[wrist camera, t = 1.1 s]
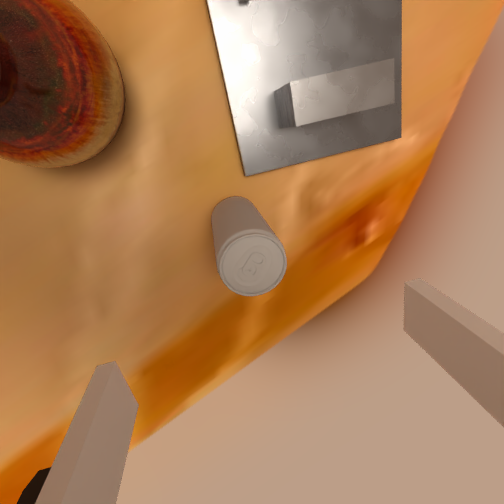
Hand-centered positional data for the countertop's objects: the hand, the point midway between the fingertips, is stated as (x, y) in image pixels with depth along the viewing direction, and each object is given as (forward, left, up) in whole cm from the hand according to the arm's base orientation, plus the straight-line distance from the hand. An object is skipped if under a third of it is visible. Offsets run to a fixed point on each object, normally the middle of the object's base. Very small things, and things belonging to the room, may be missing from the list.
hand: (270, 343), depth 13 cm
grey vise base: (-15, +10, -19) cm, 26 cm away
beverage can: (-1, 0, -19) cm, 19 cm away
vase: (-15, -11, -19) cm, 26 cm away
